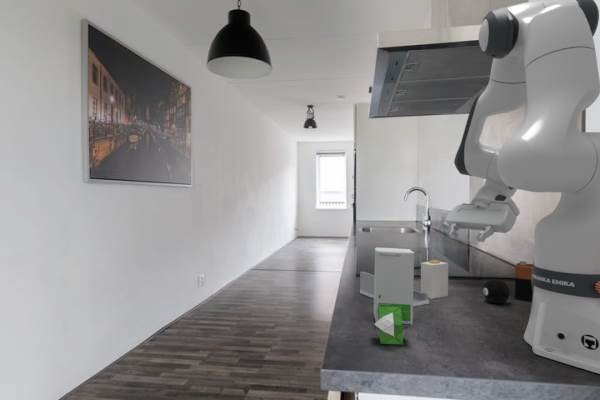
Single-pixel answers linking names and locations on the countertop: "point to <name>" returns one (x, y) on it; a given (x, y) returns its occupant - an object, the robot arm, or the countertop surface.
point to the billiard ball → (496, 291)
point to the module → (434, 279)
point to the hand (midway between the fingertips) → (465, 238)
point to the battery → (523, 281)
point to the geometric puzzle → (390, 325)
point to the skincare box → (394, 281)
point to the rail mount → (368, 289)
